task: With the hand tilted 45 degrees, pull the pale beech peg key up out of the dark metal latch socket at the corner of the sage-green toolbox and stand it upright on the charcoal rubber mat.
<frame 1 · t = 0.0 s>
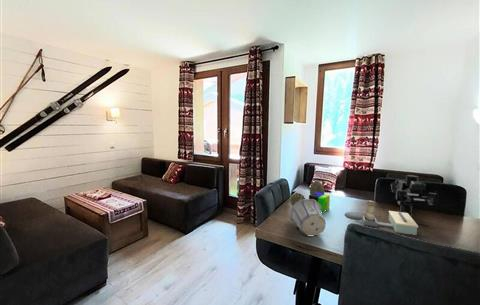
hand: (421, 201, 118), 17 cm above the table, tool horizontal, fingers open, 9 cm apart
decorative egg: (316, 199, 172), on the table
rubber mat: (353, 216, 141), on the table
puzzle toy: (318, 209, 153), on the table
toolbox: (401, 226, 126), on the table
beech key: (369, 223, 130), resting in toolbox
tipped over flowerpot: (304, 226, 128), on the table
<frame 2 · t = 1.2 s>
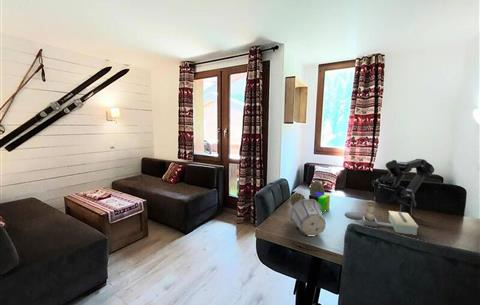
hand: (381, 198, 131), 14 cm above the table, tool tilted 45°, fingers open, 9 cm apart
nothing on the table moved.
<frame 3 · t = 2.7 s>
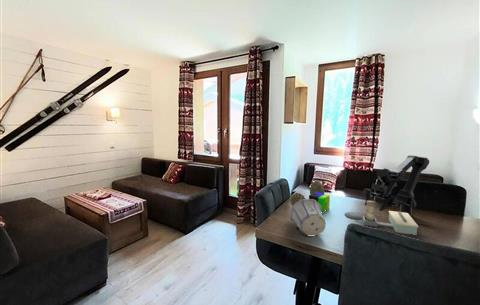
hand: (372, 207, 130), 9 cm above the table, tool tilted 45°, fingers open, 9 cm apart
nothing on the table moved.
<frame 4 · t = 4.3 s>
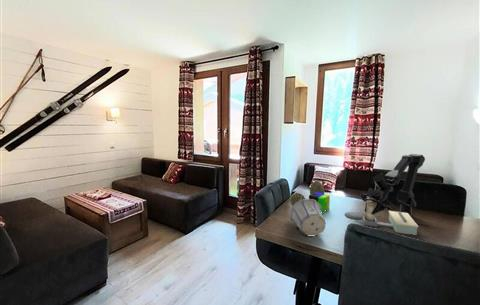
hand: (368, 212, 129), 7 cm above the table, tool tilted 45°, fingers closed on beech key, 4 cm apart
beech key: (369, 223, 130), resting in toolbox, touching gripper
everything else where it was.
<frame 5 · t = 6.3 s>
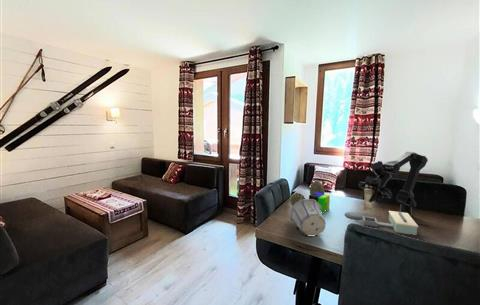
hand: (366, 200, 130), 14 cm above the table, tool tilted 45°, fingers closed on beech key, 4 cm apart
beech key: (367, 211, 131), point 7 cm above the table, touching gripper
everything else where it was.
when the fingers open (8 cm above the table, at t = 8.6 s): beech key drops 1 cm, resting on rubber mat.
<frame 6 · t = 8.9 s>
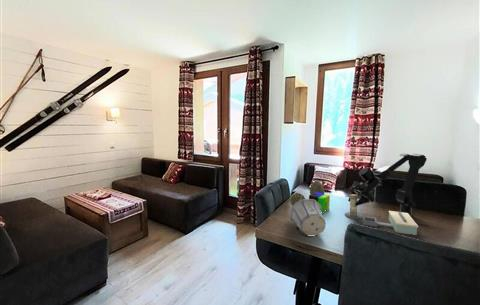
hand: (352, 203, 140), 9 cm above the table, tool tilted 45°, fingers open, 7 cm apart
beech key: (353, 215, 141), point 1 cm above the table, touching rubber mat
everything else where it was.
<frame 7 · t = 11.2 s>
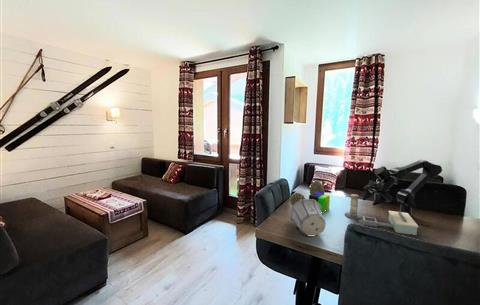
hand: (368, 202, 139), 9 cm above the table, tool tilted 45°, fingers open, 9 cm apart
nothing on the table moved.
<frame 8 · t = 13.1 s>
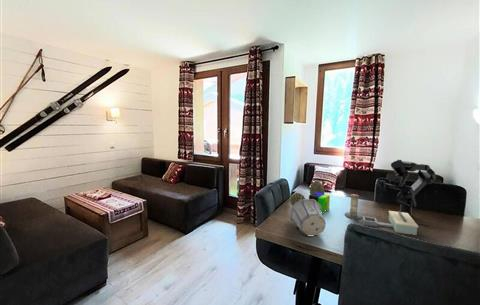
hand: (388, 198, 133), 14 cm above the table, tool tilted 45°, fingers open, 9 cm apart
nothing on the table moved.
at the end: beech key 0.0 cm off-centre on the rubber mat, point 0.5 cm above the rubber mat's base; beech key tilted 0°; the gripper is holding nothing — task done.
